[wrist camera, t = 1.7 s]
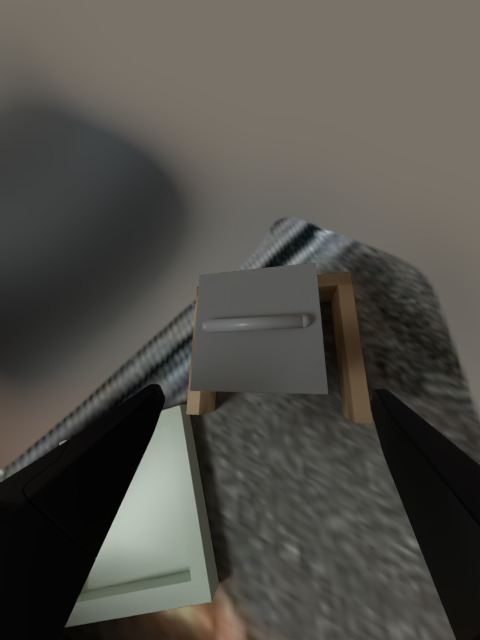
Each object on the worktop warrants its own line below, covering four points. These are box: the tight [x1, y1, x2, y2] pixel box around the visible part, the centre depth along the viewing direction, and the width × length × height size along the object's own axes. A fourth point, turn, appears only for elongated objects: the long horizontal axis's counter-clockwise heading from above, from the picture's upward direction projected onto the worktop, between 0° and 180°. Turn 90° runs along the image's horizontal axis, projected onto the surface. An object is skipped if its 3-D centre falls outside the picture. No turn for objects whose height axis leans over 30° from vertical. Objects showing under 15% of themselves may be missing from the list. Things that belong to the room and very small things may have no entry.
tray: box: [59, 404, 219, 627], centre depth 18 cm, size 12×12×2 cm
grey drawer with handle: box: [190, 263, 328, 394], centre depth 15 cm, size 6×6×11 cm
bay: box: [186, 272, 373, 424], centre depth 18 cm, size 10×12×4 cm
